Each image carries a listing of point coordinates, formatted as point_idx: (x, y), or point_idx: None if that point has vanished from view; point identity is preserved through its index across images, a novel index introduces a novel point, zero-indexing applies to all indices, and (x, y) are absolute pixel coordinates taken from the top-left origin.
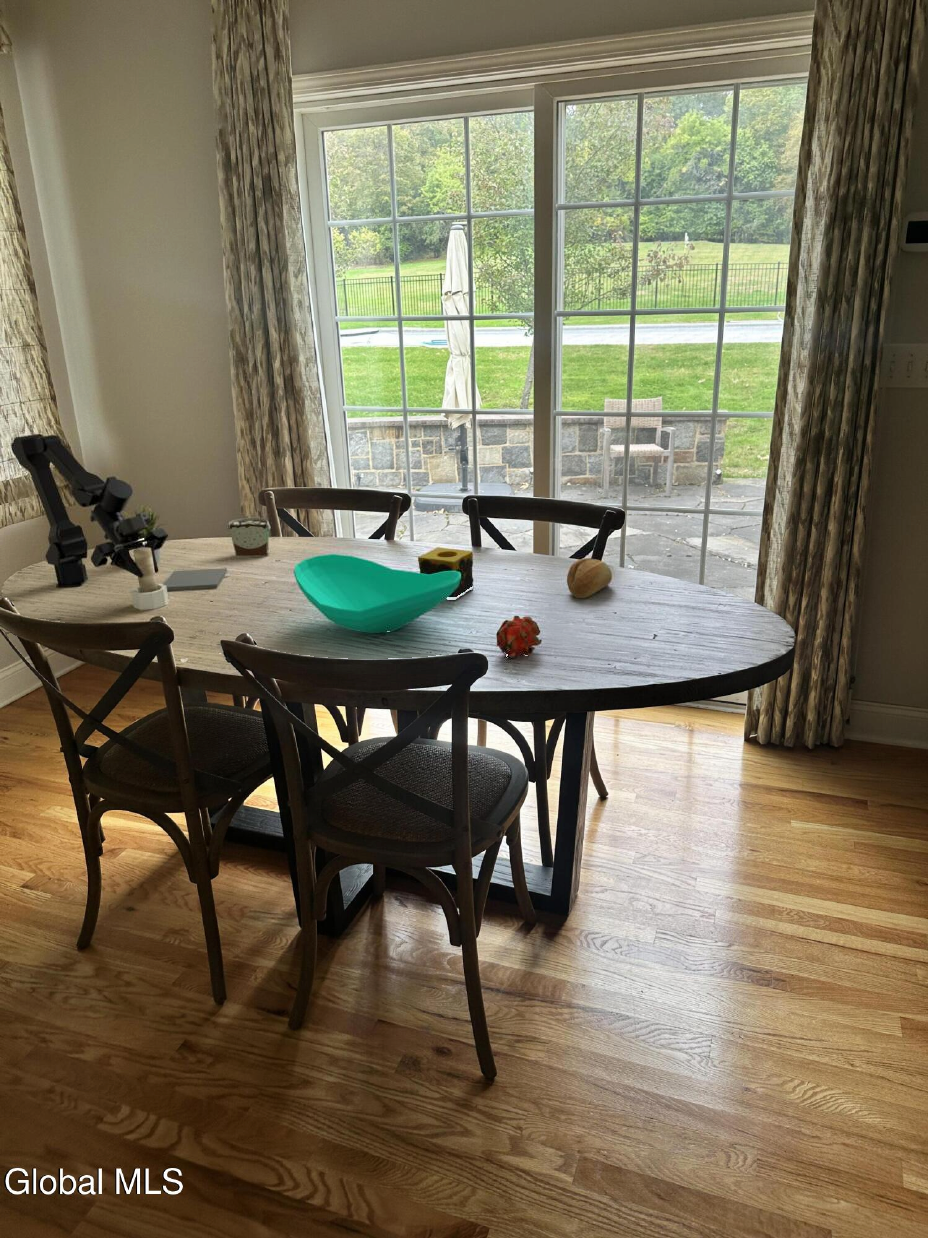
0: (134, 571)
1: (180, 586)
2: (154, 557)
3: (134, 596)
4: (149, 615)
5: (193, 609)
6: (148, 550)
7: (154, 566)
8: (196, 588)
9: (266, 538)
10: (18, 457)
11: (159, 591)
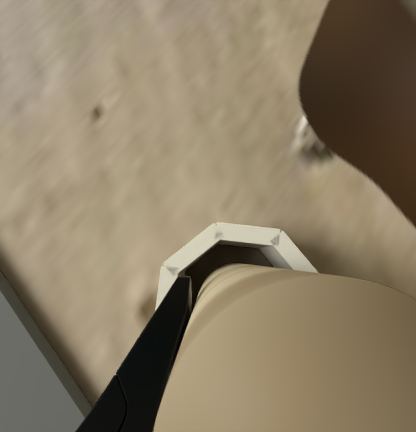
0: None
1: (37, 345)
2: (124, 376)
3: None
4: (317, 191)
5: (190, 103)
6: (293, 289)
7: (188, 306)
8: (8, 286)
9: None
10: None
11: (235, 224)
